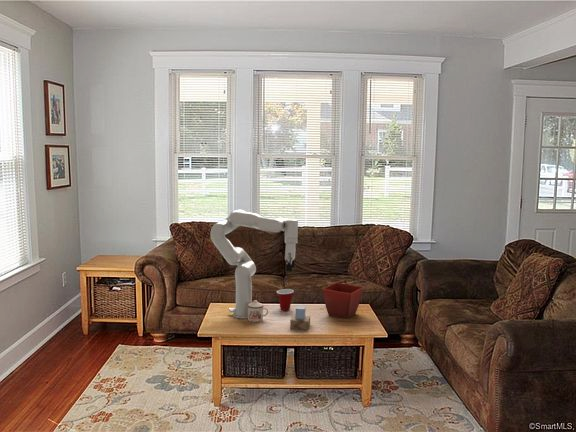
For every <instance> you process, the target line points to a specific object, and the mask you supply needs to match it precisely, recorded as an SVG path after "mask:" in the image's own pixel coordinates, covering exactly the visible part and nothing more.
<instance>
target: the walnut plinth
mask: <svg viewBox="0 0 576 432" xmlns="http://www.w3.org/2000/svg"><path fill="white" fill-rule="evenodd" d="M289 320H290V322H289V324H290V325H289V327H290V330H300V331H301V330H303V331H308V330H309V329H310V325H311V315H305V319H304V320H301V319H295V314H293V315H292V316H291V319H289Z"/></svg>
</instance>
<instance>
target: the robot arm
mask: <svg viewBox="0 0 576 432" xmlns="http://www.w3.org/2000/svg"><path fill="white" fill-rule="evenodd" d="M239 227H246V228H252V229H256V230H260V231H264V232H269V233H279V232H281V231H284V243H285V251H284V260H285V261H286V269H285V270H286V272H292V271H293V269H294V268H295V262H296V261H295V259H296V251H297V249H296V244H298V241H299V240H298V237H299V235H298V234H299V220H298V219H296V218H284V217H277V218H269V217H263V216H261V215H260V214H259V213H255V212H249V211H245V210H244V209H237V210H233V211H232V212H231V213H230V214H229V216H228V217H226V218H225V219H223V220H220V221H217V222H216V223H214V224H213V226H211V229H210V234H209V236H210V239H211V240H210V241H211V242H212V243H213V244H214V246H215V248H216V249H217V250H218V251H219V253H220V254H221V256H223V258H224V260H225V261H226V262H227V263H228V264H229V265H231V266H237V267H236V268H235V272H234V277H235V307H233V308H232V307H228V312H229V313H232V317H234V318H236V319H244V320H245V319H248V304H249V303H252V302H253V300H252V299H253V298H252V296H253V294H252V293H253V284H252V277H253V276H254V275H255V273H256V271H257V267H256V264H255V262H254V261H253V260H252V258H251V257H250V255H248V253H247V252H246V250H244V248H243V247H239V246H234V245H233V244H232V242H231V241H230V239H228V238H227V237H226V235H228V234H229V233H231V232H233V231H234V230H236V229H238V228H239Z"/></svg>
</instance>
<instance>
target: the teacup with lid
mask: <svg viewBox="0 0 576 432" xmlns="http://www.w3.org/2000/svg"><path fill="white" fill-rule="evenodd" d="M264 310H266V314H264ZM268 314H269V310H268V308H267V307H264V303H260V302H258V300H257V299H256V300H255V299H254V300H253V301H252V303H249V304H248V318H247V320H248V322H251V323H252V322H253V323H260V322H262V321H263V318H264V317H266V316H267V315H268Z"/></svg>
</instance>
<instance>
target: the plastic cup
mask: <svg viewBox="0 0 576 432" xmlns="http://www.w3.org/2000/svg"><path fill="white" fill-rule="evenodd" d="M276 293H277V296H278V302H279V303H278V304H279V308H280V310H281V311H290V309H291V304H292V299H293V293H294V289H291V288H285V289H284V288H283V289H278V290H276Z"/></svg>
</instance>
